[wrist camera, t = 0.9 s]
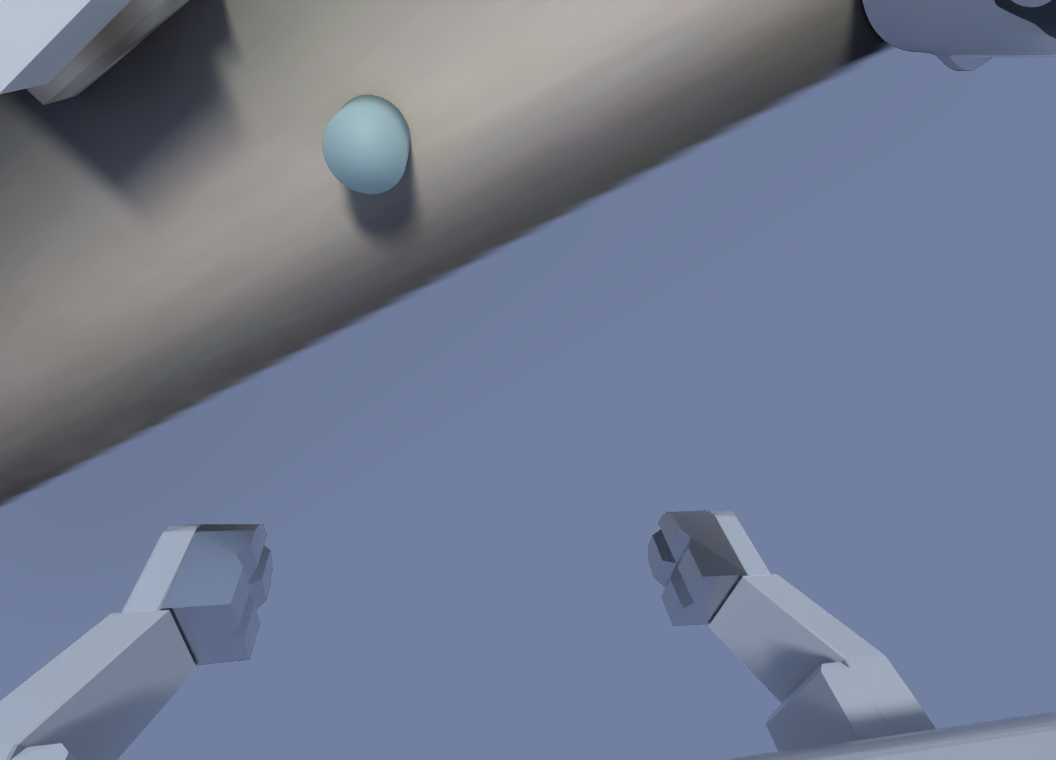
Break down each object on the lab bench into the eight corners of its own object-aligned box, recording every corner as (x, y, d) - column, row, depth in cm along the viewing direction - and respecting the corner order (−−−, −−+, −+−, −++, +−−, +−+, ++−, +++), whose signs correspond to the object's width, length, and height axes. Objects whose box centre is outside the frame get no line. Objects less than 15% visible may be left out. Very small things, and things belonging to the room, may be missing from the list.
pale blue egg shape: (379, 78, 33) (370, 90, 29) (425, 148, 36) (422, 167, 32) (320, 121, 34) (304, 138, 30) (369, 186, 37) (360, 208, 33)
